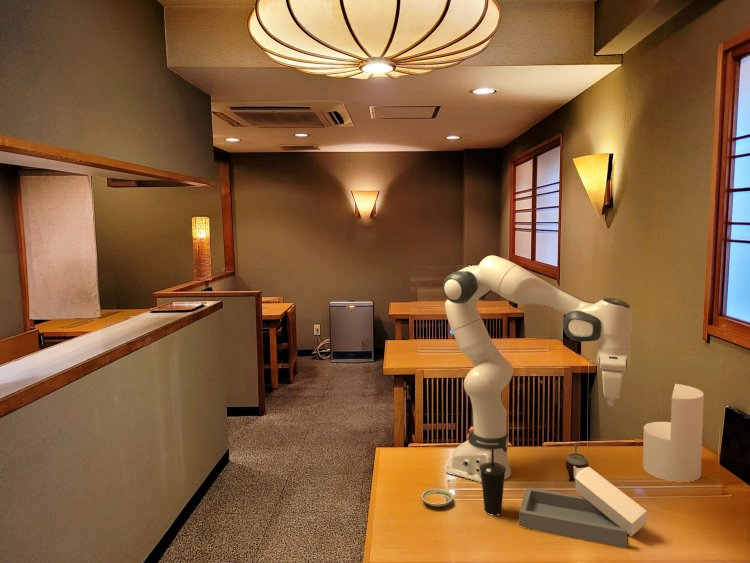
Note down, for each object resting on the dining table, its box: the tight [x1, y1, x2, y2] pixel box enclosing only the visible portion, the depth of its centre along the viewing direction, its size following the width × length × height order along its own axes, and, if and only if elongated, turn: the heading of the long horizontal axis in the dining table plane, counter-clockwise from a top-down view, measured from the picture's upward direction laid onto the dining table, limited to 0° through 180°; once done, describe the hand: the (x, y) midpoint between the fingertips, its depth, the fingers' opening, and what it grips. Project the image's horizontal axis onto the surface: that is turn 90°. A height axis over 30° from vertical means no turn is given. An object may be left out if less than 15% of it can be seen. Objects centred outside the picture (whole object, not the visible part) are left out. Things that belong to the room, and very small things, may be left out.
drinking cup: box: [480, 447, 506, 516], centre depth 158 cm, size 8×8×20 cm
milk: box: [574, 466, 648, 537], centre depth 152 cm, size 6×6×22 cm
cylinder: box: [642, 383, 705, 482], centre depth 180 cm, size 17×17×28 cm
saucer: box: [421, 488, 454, 508], centre depth 165 cm, size 10×10×2 cm
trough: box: [518, 486, 628, 549], centre depth 152 cm, size 28×15×4 cm, turn 66°
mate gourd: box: [565, 442, 589, 482], centre depth 176 cm, size 8×8×15 cm
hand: (611, 404), depth 151 cm, fingers closed
